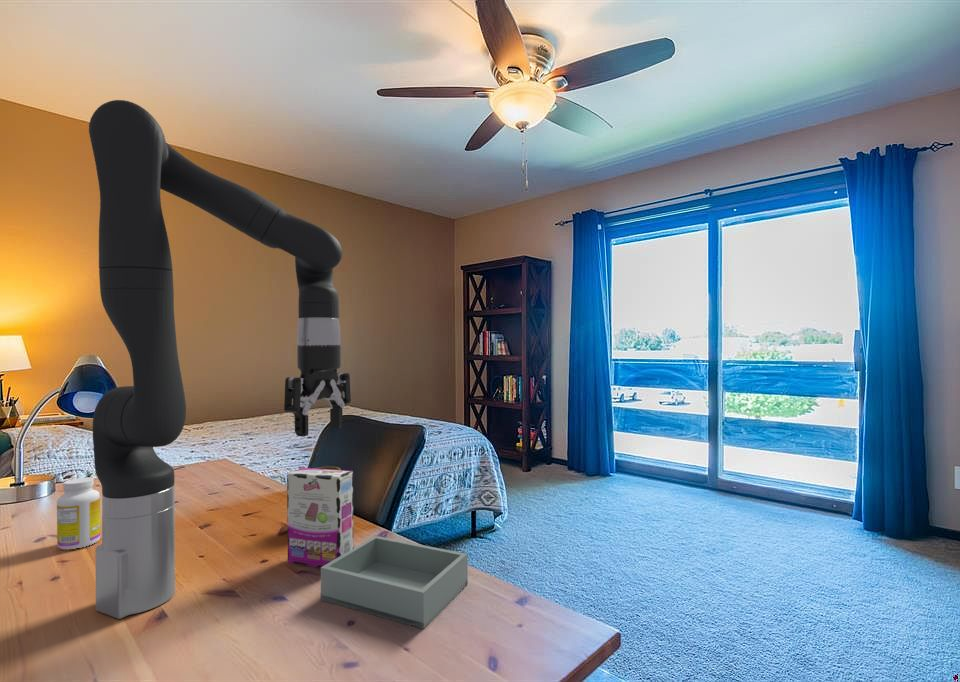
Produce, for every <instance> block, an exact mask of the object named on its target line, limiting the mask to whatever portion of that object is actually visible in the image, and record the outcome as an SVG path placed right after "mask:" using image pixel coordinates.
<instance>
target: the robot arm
mask: <svg viewBox="0 0 960 682" xmlns="http://www.w3.org/2000/svg"><path fill="white" fill-rule="evenodd" d="M88 133H89V135H88V136H89V139H90V144H91V148H92V149H91V150H92V153H93V157H94V162H95V168H96V169H95V170H96V175H97V180H98V187H99V188H98V189H99V199H100V200H99V201H100V202H99V206H100V207H99V219H98V220H99V221H98V222H99V224H98V272H99V273H98V275H99V276H98V277H99V279H98V280H99V290H100V298H101V303H102V306H103V308H104V311H105V313H106V315H107V317H108V318H109V321H110V322H111V324H112V325H113V328H114V329H115V331H116V332H117V333H118V335H119V337H120V338H121V340H122V342H123V343H124V345H125V347H126V349H127V351H128V354H129V358H130V361H131V367H132V368H131V370H132V381H133V385H132V386H131V385H130V386H129V385H127V386H126V385H125V386H118V387H115V388H112V389H110V390H109V391H106V393H104V394H103V395H102V396H101V397H100V399H99V400H98V402H97V404H96V406H95V408H94V412H93V417H92V446H93V458H94V461H93V463H94V469H95V476H96V477H97V480H98V481H99V483H100V486H101V496H102V497H101V505H102V506H101V507H102V508H101V510H102V511H101V512H102V513H101V515H102V516H101V523H102V524H101V526H102V527H101V528H102V529H101V531H102V533H101V534H102V535H101V541H102V542H101V544H99V545H97V546H96V547H95V549H94V550H95V552H94V553H95V558H94V559H95V560H94V561H95V611H97V612H100V613H102V614H105V615H107V616H110V617H112V618H116V619H118V620H119V619H123V618H125V617H127V616H131V615H135V614H136V615H137V614H140V613H143V612H146V611H149V610H151V609H155V608H157V607H159V606H161V605H162V604H164V603H166V602H167V601H169V600H170V599H172V597H173V596H174V595H175V592H176V569H175V568H176V567H175V566H176V563H175V562H176V557H175V556H176V555H175V554H176V553H175V552H176V550H175V549H176V546H175V545H176V544H175V543H176V542H175V541H176V538H175V537H176V535H175V530H176V529H175V526H176V524H175V517H176V516H175V508H176V507H175V504H176V503H175V495H176V494H175V491H176V490H175V470H174V468H173V467H172V465H171V464H169V463H168V462H166V461H164V460H163V459H162V458H160V457H159V456H158V455H157V453H156V451H155V449H154V448H159V447H161V448H162V447H165V446H169V445H170V444H172V443H173V442H175V441H176V440H177V439H178V437H180V435H181V433H182V431H183V429H184V427H185V425H186V416H187V404H186V403H187V402H186V397H185V396H186V395H185V389H184V384H183V378H182V372H181V368H180V367H181V366H180V360H179V354H178V346H177V345H178V343H177V331H176V323H175V322H176V321H175V303H174V301H175V299H174V298H175V291H174V290H175V289H174V272H173V262H172V253H171V248H170V242H169V236H168V232H167V227H166V224H165V223H166V222H165V220H164V219H165V218H164V214H163V209H162V202H161V190H162V191H165V192H167V193H169V194H172V195H173V196H176V197H178V198H180V199H182V200H184V201H186V202H188V203H189V204H192V205H193V206H196V207H198V208H199V209H201V210H203V211H204V212H207V213H208V214H209V215H212V216H214V217H215V218H217V219H219V220H220V221H222V222H224V223H225V224H227V225H229V226H230V227H232V228H234V229H236V230H237V231H239V232H241V233H242V234H245V235H246V236H248V237H249V238H251V239H253V240H255V241H257V242H259V243H260V244H262V245H264V246H266V247H269V248H272V249H280V250H281V251H284V252H286V253H288V254H290V255H291V256H293V257H294V262H295V274H296V280H297V281H296V282H297V283H296V284H297V286H298V287H297V288H298V304H297V305H298V324H297V330H296V333H297V334H296V338H297V339H296V340H297V342H296V343H297V345H296V346H297V350H296V351H297V356H296V357H297V369H298V370H299V371H300V376H299V377H297V376H296V377H293V376H292V377H291V376H290V377H286V378H285V383H284V385H285V386H284V404H283V406H284V408H283V409H284V412H286V413H290V414H293V416H294V433H295V434H296V436H297V437H307V436H309V414H308V413H309V411H310V409H311V407H312V406H313V405H315V403H316V402H317V400H318V401H319V400H322V399H325V400H326V401H327V402H328V404H329V405H330V407H331V408H330V409H329V414H330V415H329V419H330V421H329V422H330V423H329V426H330V428H331V429H335V430H336V429H337V430H338V429H341V428H342V426H343V421H344V420H343V415H344V413H343V409H344V407H345V406H346V405H348V404H350V403H351V401H352V398H351V396H352V395H351V379H350V378H351V377H350V373H348V372H338V371H337V370H338V369H340V368H341V367H342V366H341V365H342V364H341V363H342V362H341V360H342V359H341V357H342V355H341V353H342V352H341V350H342V349H341V345H342V343H341V326H340V319H339V318H340V311H339V310H340V305H339V304H340V303H339V293H338V291H337V290H336V288H335V285H334V268H336V267H337V266H338V265H339V264H340V262H341V260H342V257H343V249H342V244H341V243H340V241H339V240H338V239H337V238H336V237H335V236H334V235H333V234H332V233H330V232H329V231H327V230H326V229H323V228H322V227H320V226H318V225H316V224H315V223H312V222H309V221H307V220H305V219H303V218H300V217H297V216H295V215H292V214H291V213H289V212H287V211H286V210H285V209H283V208H281V207H280V206H278V205H276V204H275V203H273V202H272V201H270V200H269V199H267V198H265V197H263V195H260V194H259V193H256V192H255V191H252V190H251V189H249V188H248V187H247V188H246V187H245V186H244V185H243V186H242V185H240V184H239V183H236V182H234V181H231V180H229V179H226V178H224V177H221V176H219V175H217V174H214V173H212V172H210V171H208V170H206V169H204V168H203V167H201V166H199V165H197V164H196V163H195V162H192V161H191V160H190V159H188V158H186V156H184V155H183V154H182V153H180V152H179V151H177V150H176V149H175V148H173V147H172V146H171V145H170V144H169V143H168V142H166V138H165V134H164V132H163V129H162V127H161V125H160V124H159V122H158V121H157V120H156V118H154V116H153V115H152V114H151V113H150V112H149V111H148V110H146V109H145V108H143V107H142V106H140V105H139V104H137V103H135V102H133V101H129V100H122V99H114V100H109V101H106V102H105V103H103V104H101V105H100V106H98V107H97V108H96V109H95V111H94V112H93V114H92V115H91V116H90V120H89V124H88ZM343 394H344V395H343Z"/></svg>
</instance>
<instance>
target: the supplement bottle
mask: <svg viewBox="0 0 960 682" xmlns="http://www.w3.org/2000/svg"><path fill="white" fill-rule="evenodd" d="M94 483H95V482H94V478H93V477H78V478H72V479H69V480H68V479H67V480H66V481H64V482H63V483H62V484H63V485H62V489H63V491H64V494H62V495H60V496H59V497H58V499H57V500H56V520H57V521H56V530H57V531H56V534H57V536H56V538H57V539H56V540H57V543H56V544H57V548H58V547H59V548H62V549H73V548H80V549H82V548H81V547H84V548H87V547H90V546H93V545H95V544H96V543H98V542H99V541H100V539H101V495H100V492H99V491H98V490H96V489H94V488H93V486H94V485H95V484H94ZM94 543H95V544H94ZM92 544H93V545H92ZM89 545H90V546H89ZM86 546H87V547H86ZM59 548H58V549H59Z"/></svg>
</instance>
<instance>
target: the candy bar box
mask: <svg viewBox="0 0 960 682" xmlns="http://www.w3.org/2000/svg"><path fill="white" fill-rule="evenodd" d="M286 475H287V476H286V480H287V481H286V482H287V483H286V487H287V488H286V496H287V497H286V498H287V499H286V501H287V504H286V505H287V506H286V507H287V517H286V518H287V523H286V524H287V563H288V564H290V565H291V564H292V565H299V566H306V567H313V568H320V569H321V567H323V566H324V565H326V564H328V563H329V562H331V561H333V560H335V559H336V558H338V557H340V556H341V555H343V554H345V553H347V552H348V551H350V550H352V549H353V548H355V547H354V471H353V470H342V469H341V470H329V469H315V468H313V467H312V468H309V467H301V468H299V469H295V470H293V471H291V472H289V473H288V472H287V474H286Z"/></svg>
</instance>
